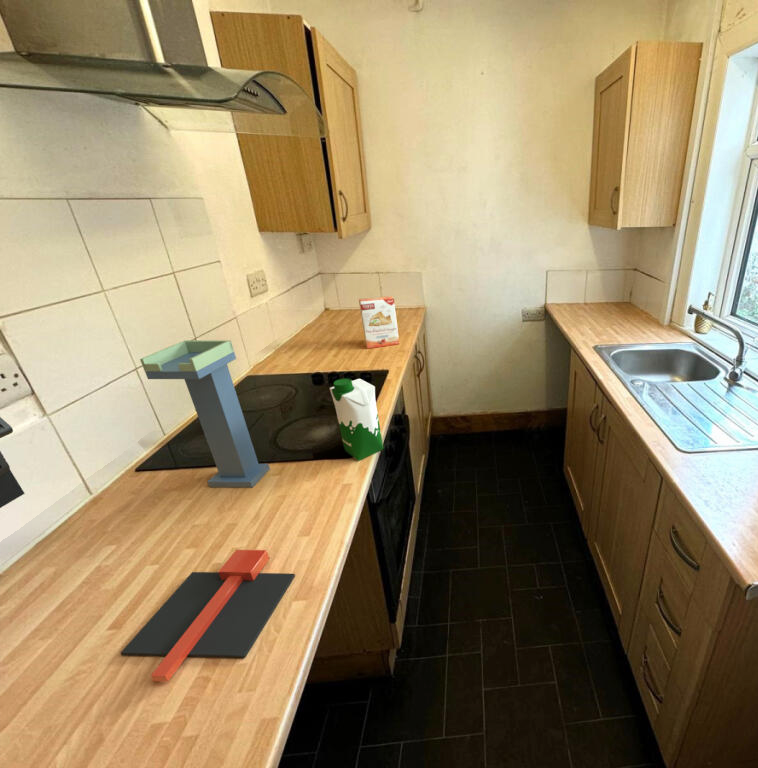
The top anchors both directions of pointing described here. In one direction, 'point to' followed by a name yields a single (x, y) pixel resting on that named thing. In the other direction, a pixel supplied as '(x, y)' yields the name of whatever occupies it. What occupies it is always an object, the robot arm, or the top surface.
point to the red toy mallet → (213, 607)
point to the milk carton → (357, 417)
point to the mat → (228, 629)
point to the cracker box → (379, 321)
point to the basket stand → (212, 406)
